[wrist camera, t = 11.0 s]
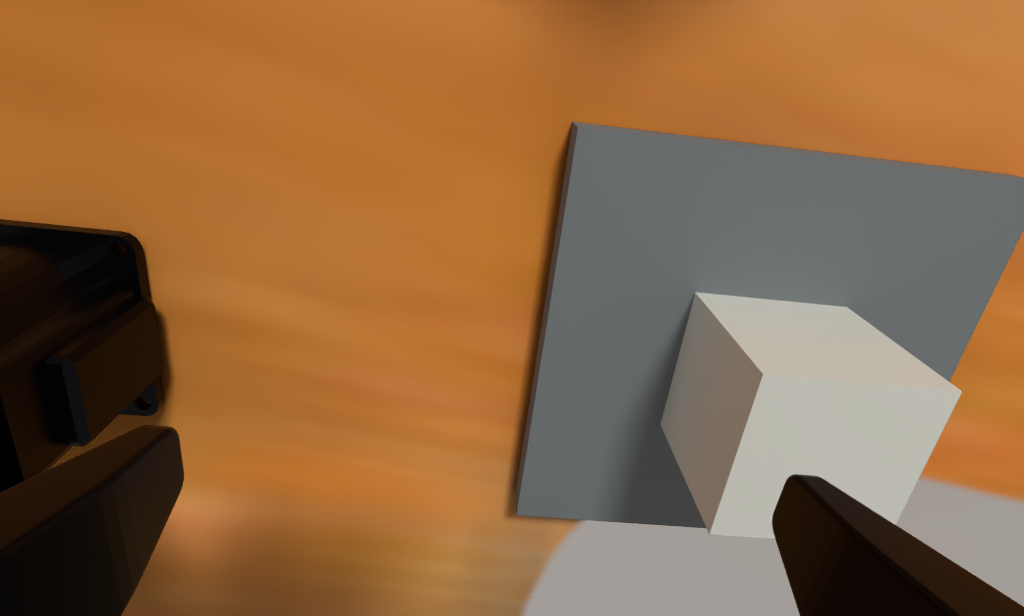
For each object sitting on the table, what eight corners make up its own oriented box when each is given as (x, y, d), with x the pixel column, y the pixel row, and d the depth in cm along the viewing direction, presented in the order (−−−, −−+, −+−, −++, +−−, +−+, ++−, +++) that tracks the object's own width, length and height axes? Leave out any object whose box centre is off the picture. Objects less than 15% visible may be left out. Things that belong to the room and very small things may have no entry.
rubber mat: (515, 492, 23) (516, 515, 22) (572, 121, 17) (578, 126, 16) (854, 516, 24) (871, 539, 23) (1012, 175, 18) (1046, 183, 17)
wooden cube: (660, 424, 20) (709, 534, 16) (695, 292, 18) (762, 374, 14) (797, 435, 21) (884, 546, 16) (847, 307, 19) (962, 391, 14)
